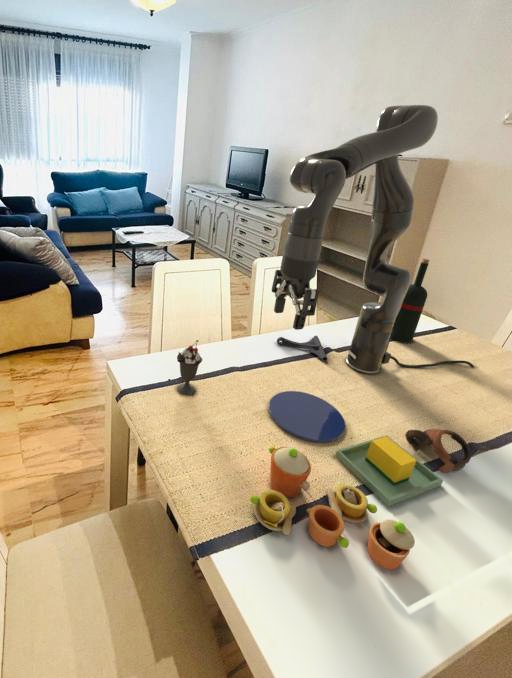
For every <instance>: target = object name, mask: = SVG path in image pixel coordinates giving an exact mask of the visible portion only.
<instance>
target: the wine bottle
mask: <svg viewBox="0 0 512 678" xmlns="http://www.w3.org/2000/svg"><path fill="white" fill-rule="evenodd" d="M429 262H430V259H429V258H421V262H420V264H419V267H418V271H417V272H416V273H417V274H416V277H415V279H414V282H413V283H411V284H410V286H409V288H408V291H407V293H406V296H405V298H404V301H403V303H402V306H401V309H400V311H399V313H398V315H397V317H396V319H395V322H394V325H393V328H392V332H391V335H390V338H389V339H391V340H393V341H395V342H397V343H403V344H410V343H413V339H414V337H415V333H416V330H417V328H418V325H419V322H420V320H421V319H420V318H421V316H422V313H423V310H424V307H425V304H426V301H427V298H428V291H427V289H426V288H425V287H423V286H422V285H423V282H424V278H425V275H426V273H427V270H428V267H429Z"/></svg>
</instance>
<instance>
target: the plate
mask: <svg viewBox="0 0 512 678" xmlns="http://www.w3.org/2000/svg"><path fill="white" fill-rule="evenodd" d="M268 413H269V415H270V417H271V419H272V421H273V422H274V423H275V424H276V425H277V426H278V427H279V428H281V430H283V431H284V432H286V433H287V434H289V435H291V436H293V437H296V438H297V439H300V440H303V441H307V442H311V443H320V444H327V443H332V442H335V441H337V440H339V439H340V438H341V437H343V435H344V433H345V430H346V422H345V419H344V417H343V415H342V414H341V412H340V411H339V410H338V409H337V408H336V407H335V406H334V405H332V404H331V403H330V402H328V401H327V400H325V399H323V398H321V397H319V396H317V395H314V394H311V393H308V392H303V391H297V390H286V391H280V392H278V393H276V394H274V395H273V396H272V397H271V398H270V400H269V403H268Z"/></svg>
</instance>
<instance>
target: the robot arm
mask: <svg viewBox="0 0 512 678" xmlns="http://www.w3.org/2000/svg"><path fill="white" fill-rule="evenodd" d="M438 119H439V116H438V111H437V109H435V107H433V106H430V105H427V104H405V105H402V104H401V105H391V106H387V107H385V108H384V109H382V112H380V115H379V116H378V119H377V122H376V126H375V131H374V132H369V133H365V134H362V135H359V136H356V137H353V138H351V139H349V140H347V141H345V142H343V143H341V144H340V145H338V146H336V147H334V148H330V149H327V150H323V151H318V152H315V153H311V154H309V155H306V156H305V157H302V158H301V159H299V160H298V161H297V162H296V163H295V164H294V166H293V167H292V169H291V171H290V174H289V183H290V185H291V187H292V188H293V189H294V190H295V191H297V192H299V193H303V194H309V195H314V197H313V199H312V201H311V202H310V204H299V205H297V206H295V207H294V208H293V210H292V212H291V217H290V222H289V227H288V233H287V235H286V239H285V241H284V247H283V253H282V258H281V262H280V269H275V272H274V276H273V281H272V285H271V292H272V293H273V294H274V297H275V302H274V308H273V312H274V313H275V314H283V313H284V311H285V305H286V300H287V298H286V297H289V298H290V299H291V302H292V303H291V304H292V305H293V306H294V308H295V314H294V320H293V323H292V328H293V330H295V331H297V330H299V331H300V330H303V329H304V328H305V324H306V319H307V317H310V316H311V317H312V316H315V315H316V310H317V304H318V298H319V293H320V292H319V291H320V290H319V289H318V288H316V289H315V288H311V285H310V283H311V280H313V279H314V278H315V277H316V275H317V270H318V265H319V262H320V257H321V252H322V247H323V239H324V234H325V233H324V232H325V229H326V225H327V220H328V218H329V215H330V213H331V211H332V210H333V208H334V205H335V203H336V201H337V199H338V198H339V196H340V194H341V193H342V191H343V188H344V187H345V184H346V181H347V179H350V178H352V177H354V176H355V175H357V174H359V173H361V172H362V171H364V170H367V168H370V167H371V166H373V165H374V166H375V169H374V170H375V171H374V188H373V198H372V199H373V200H372V206H371V207H372V208H371V217H370V219H371V220H370V233H369V234H370V235H369V243H368V251H367V255H366V261H365V264H364V265H365V266H364V271H363V275H362V277H363V278H362V279H363V280H362V283H363V288H364V289H365V290H366V291H368V292H371V293H373V294H375V295H377V296H379V297H383V298H384V299H383V301H381V302H378V301H377V302H375V301H369V302H364V303H363V304H362V306H361V307H360V308H361V309H360V312H359V315H358V319H357V323H356V326H355V328H354V329H355V330H354V333H353V337H352V340H351V343H350V347H349V349H348V350H347V353H348V354H347V357H346V359H345V363H346V364H347V366H348V367H349V368H351V369H353V370H355V371H356V372H359V373H362V374H367V375H373V374H378V373H379V372H380V370H381V369H382V367H383V365H386V364H389V363H390V360H393V361H394V362H395V364H396V365H397V366H400V367H402V368H410V369H417V368H418V369H419V368H420V369H421V368H429V367H436V366H440V365H445V364H446V365H447V364H465V365H468V366H470V367H471V368H475V365H474V364H473V363H471V362H470V361H467V360H443V361H438V362H433V363H424V364H412V365H411V364H404V363H401V362H400V361H399V360H398V359H397V358H396V357H395V356H393V355H392V354H391V353H389V352H388V348H389V345H390V341H389V340H390V339H391V338H390V335H391V332H392V328H393V325H394V322H395V319H396V317H397V315H398V313H399V311H400V309H401V306H402V303H403V301H404V298H405V296H406V293H407V291H408V288H409V286H410V285H411V282H412V273H411V271H410V270H408V269H407V268H404V267H400V266H396V265H394V264H390V263H387V254H388V252H389V249H390V248H391V247H392V246H393V245H394V244H395V243H396V241H397V240H399V239H400V238H401V237H402V236H403V235H404V234H405V233H406V232H407V231H408V229H409V228H410V226H411V224H412V221H413V217H414V216H413V214H414V209H415V196H414V192H413V190H412V188H411V186H410V184H409V182H408V180H407V178H406V177H405V175H404V173H403V170H402V169H401V164H400V161H399V155H400V154H403V153H406V152H409V151H412V150H415V149H419V148H422V147H423V146H425V145H426V144H428V142H430V140H431V139H432V138H433V136H434V134H435V132H436V130H437V126H438V121H439V120H438ZM278 285H279V286H278ZM302 299H303V300H302ZM301 306H302V308H301Z"/></svg>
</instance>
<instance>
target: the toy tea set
mask: <svg viewBox="0 0 512 678" xmlns="http://www.w3.org/2000/svg"><path fill="white" fill-rule="evenodd" d="M268 452H269V454H271V455H270V472H269V473H270V474H269V476H270V477H269V482H270V486H271V487H272V489H266V490H264V491H262V492H261V493H260V496H258V495H256V494H252V495H251V496H250V502H251V503H252V504H253V513H254V515H255V518H256V519H257V521H258V523H260V524H261V525H262V526H263V527H265V528H266V529H268V530H271V531H275V532H282V533H283V535H286V536H289V535H290V534H291V532H292V531H291V530H292V523H293V518H294V517H295V516H296V513H297V509H296V507H295V505H293V504H291V503H290V501H289V500H288V498H294V497H297V496H298V495H299V494H300V492H301V490H302V489H303V490H304V491H308V490H309V489H310V487H311V483H309V482H308V481H307V479H308V478H309V476H310V474H311V471H312V466H311V465H312V464H311V462H310V460H309V458H308V457H307V456H306V455H305V454H304V453H302V452H301V451H299V450H298V449H296V448H295V447H289V446H280V447H277V448H276V447H275V446H269V448H268ZM325 492H326V495H327V498H328V504H329V506H328V505H325V504H316V505H314V506H312V507H309V508H307V509H306V513H307V514H308V515H309V517H308V533H309V536H310V538H312V540H313V541H314V542H315V543H317V544H318V545H320V546H322V547H326V548H329V547H333V546H334V545H336V543H337V542H338V545H339V546H340V547H341V548H343V549H347V548H348V547H349V545H350V542H349V540H348V539H347V537H344V536H342V534H343V533H344V532H345V527H346V526H345V522H347V523H351V524H361V523H364V522H365V521H366V520H367V518H368V512H369V513H371V514H376V513H378V507H377V505H375V504H374V503H369V500H368V498H367V496H366V494H365V493H364V492H363V491H362V490H361V489H359V488H357V487H355V486H354V485H351V484H349V483H346V484H339V485H338V486H337V488H336V490H333V488H332V487H331V486H327V487H326V488H325ZM369 528H370V529H369V534H368V539H367V540H368V541H367V553H368V555H369V557H370V558H371V560H372V561H373V562H374V563H375V564H376V565H378V566H379V567H381V568H383V569H385V570H388V571H390V570H391V571H393V570H396V569H398V567H399V566H400V565H401V564H402V563H403V561H405V559H406V558H407V557H408V556H409V554H410V551H411V549H413V547H414V546H415V543H416V542H415V537H414V535H413V533H412V532H411V530H410V529H409V528H408V527H407V526H406V525H405V524H404V523H403V522H402V521H397V520H394V519H390V518H389V519H384V520H382V521H381V522H376V523H373V524H372V525H371V526H370V527H369Z"/></svg>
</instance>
